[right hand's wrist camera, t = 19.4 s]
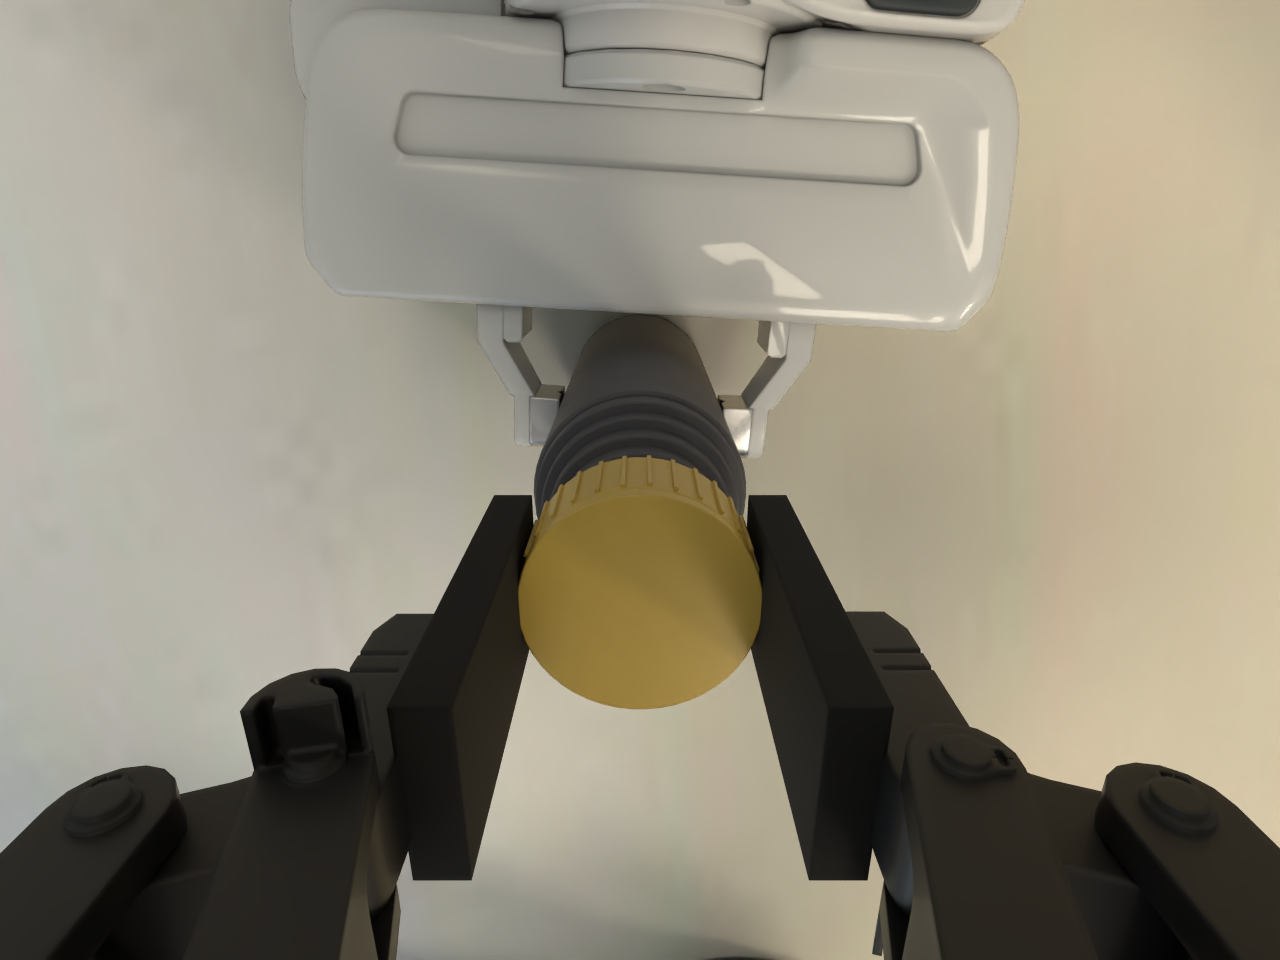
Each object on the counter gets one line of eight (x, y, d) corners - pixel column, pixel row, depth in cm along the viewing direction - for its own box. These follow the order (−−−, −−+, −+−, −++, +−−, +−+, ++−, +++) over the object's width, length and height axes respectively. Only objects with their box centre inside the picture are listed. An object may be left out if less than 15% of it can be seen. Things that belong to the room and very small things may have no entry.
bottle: (720, 413, 31) (818, 662, 14) (605, 456, 31) (565, 743, 15) (677, 294, 29) (729, 414, 12) (556, 342, 30) (446, 519, 13)
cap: (608, 408, 14) (603, 441, 12) (795, 531, 14) (818, 580, 13) (489, 581, 15) (467, 636, 13) (666, 684, 16) (670, 749, 14)
